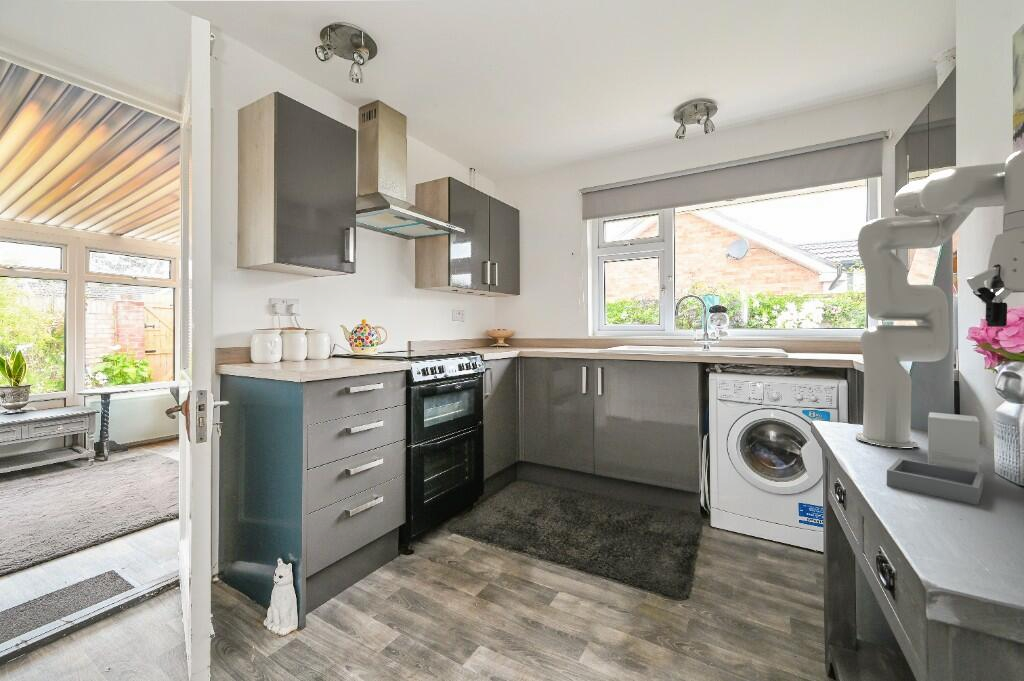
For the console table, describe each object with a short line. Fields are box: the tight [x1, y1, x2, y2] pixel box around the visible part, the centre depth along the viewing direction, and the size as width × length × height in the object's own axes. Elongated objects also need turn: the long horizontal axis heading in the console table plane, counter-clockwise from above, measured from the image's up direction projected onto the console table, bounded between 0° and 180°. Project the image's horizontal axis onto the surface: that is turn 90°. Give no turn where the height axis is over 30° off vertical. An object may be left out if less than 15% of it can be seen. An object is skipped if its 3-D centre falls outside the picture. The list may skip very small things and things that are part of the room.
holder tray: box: [886, 457, 984, 506], centre depth 82 cm, size 12×12×3 cm
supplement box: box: [927, 411, 981, 473], centre depth 88 cm, size 7×7×13 cm
